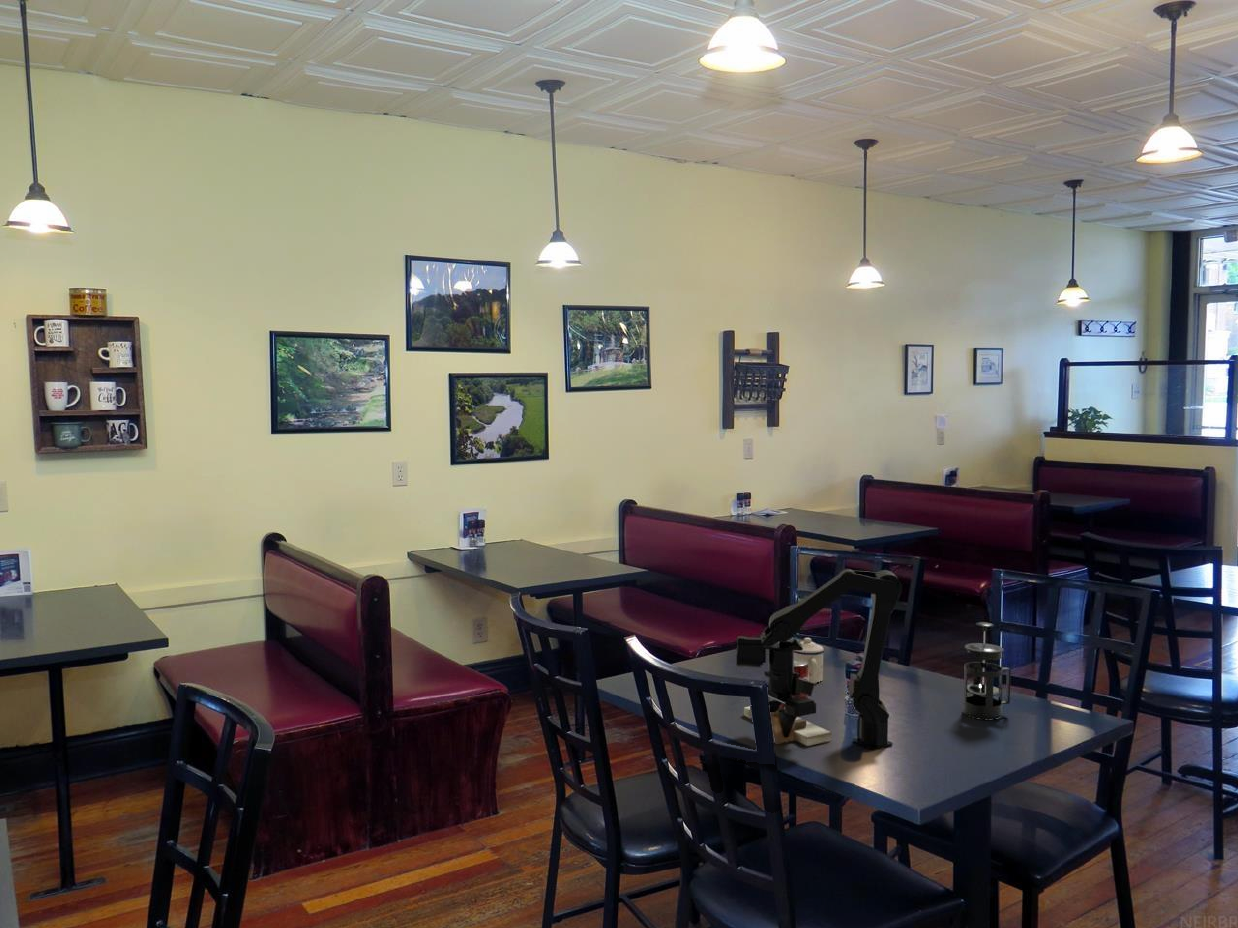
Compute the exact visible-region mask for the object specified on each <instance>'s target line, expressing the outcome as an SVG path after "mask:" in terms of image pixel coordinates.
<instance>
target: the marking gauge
mask: <svg viewBox="0 0 1238 928" xmlns="http://www.w3.org/2000/svg"><path fill="white" fill-rule="evenodd" d="M779 710H782V709H781V708H779ZM771 721H772V727H773V733H774V738H775V743H776V744H775V743H774V744H775V745H780V743H781V744H784V743H783V742H785V743H790V742H794V741H795V740H794V732H795V729H796V728H801V727H806V721H807V719H805V718H804V719H803V718H801V719H799V720H795V722H794V724H793V727H792V729H791V732H790V735H789V737H787V738H784V736H783V732H782V728H781V723H780V719H779V714H778V710H777V711H776V712H771ZM789 741H790V742H789Z"/></svg>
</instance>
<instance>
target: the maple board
mask: <svg viewBox="0 0 1238 928" xmlns="http://www.w3.org/2000/svg"><path fill="white" fill-rule="evenodd" d="M750 706H751V705H749V706H744V707H743V716H744V717H746V718H748V719H751V713H750ZM799 719H802V718H801V717H800V716H799V717H796V719H795V720H799ZM794 741H796V742H798V743H800V744H802V745H804V746H806V747H809V746H813V745H817V744H823V743H827V742H831V741H832V732H831V731H830V730H827V729H825V728H823V727H821V726H819V725H816V724H814V723H812V722H809V721H807V720H806V727H801V728H796V729H795V732H794Z"/></svg>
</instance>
